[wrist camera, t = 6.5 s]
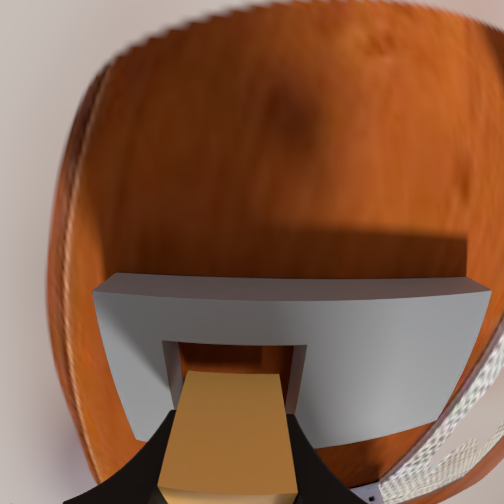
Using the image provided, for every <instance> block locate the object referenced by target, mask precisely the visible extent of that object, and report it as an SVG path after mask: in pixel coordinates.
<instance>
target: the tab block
mask: <svg viewBox="0 0 504 504" xmlns="http://www.w3.org/2000/svg"><path fill="white" fill-rule="evenodd" d="M157 486H158V488H159V490H160V491H161V493H162V495H163V496H164V498H165V500H166V501H167V503H168V504H293V502H294V500H295V498H296V496H297V494H298V490H297V483H296V477H295V470H294V464H293V457H292V451H291V445H290V438H289V432H288V426H287V419H286V413H285V407H284V401H283V395H282V388H281V382H280V376H279V374H235V373H213V372H198V371H187V375H186V378H185V382H184V385H183V389H182V392H181V396H180V400H179V403H178V407H177V411H176V414H175V418H174V422H173V426H172V429H171V433H170V437H169V441H168V445H167V448H166V452H165V456H164V460H163V464H162V468H161V472H160V476H159V481H158V485H157Z"/></svg>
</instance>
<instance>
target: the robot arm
mask: <svg viewBox="0 0 504 504" xmlns="http://www.w3.org/2000/svg"><path fill="white" fill-rule="evenodd" d="M176 411H177V410H173V409H172V410H170V411H169V413H168V414H167V416H166V417H165V419H164V420H163V422H162V423H161V425H160V426H159V428H158V429H157V430H156V432H155V433H154V434H153V435H152V437H151V438H150V439H149V440H148V442H147V443H146V444H145V445H144V446H143V448H142V449H141V450H140V451H139V452H138V453H137V454H136V455H135V456H134V457H133V458H132V459H131V460H130V461H129V462H128V463H127V464H126V465H125V466H124V467H122V468H121V469H120V470H119V471H118V472H116V473H115V474H114V475H112V476H111V477H110V478H108V479H107V480H106V481H104V482H103V483H101V484H99V485H98V486H96V487H94V488H92V489H91V490H89V491H87V492H85V493H83V494H81V495H79V496H77V497H74V498H72V499H69V500H67V501H64V502H63V504H168V503H167V501H166V500H165V498H164V496H163V495H162V493H161V491H160V490H159V488H158V486H157V485H158V481H159V476H160V472H161V468H162V464H163V460H164V456H165V452H166V448H167V445H168V441H169V437H170V433H171V429H172V426H173V422H174V418H175V414H176ZM286 419H287V426H288V432H289V438H290V445H291V451H292V457H293V464H294V470H295V477H296V483H297V490H298V494H297V496H296V498H295V500H294V502H293V504H384V501H383V498H382V496H381V493H380V490H379V488H378V487H379V486H380V485H381V484H380V482H377V483H373V484H369V485H365V486H361V487H357V488H353V489H348V488H347V487H346V486H345V485H344V484H343V483H342V482H341V481H340V480H339V479H338V478H337V477H336V476H335V475H334V474H333V473H332V472H331V471H330V469H329V468H328V467H327V466H326V465H325V463H324V462H323V461H322V460H321V458H320V457H319V456H318V454H317V453H316V451H315V450H314V448H313V447H312V446H311V444H310V443H309V441H308V439H307V438H306V436H305V434H304V433H303V431H302V429H301V427H300V425H299V423H298V421H297V419H296V417H295V415H294V414H286Z"/></svg>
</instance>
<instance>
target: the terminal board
mask: <svg viewBox="0 0 504 504" xmlns="http://www.w3.org/2000/svg"><path fill="white" fill-rule="evenodd" d="M92 293H93V299H94V304H95V310H96V315H97V319H98V324H99V328H100V333H101V337H102V341H103V345H104V349H105V352H106V356H107V360H108V363H109V366H110V370H111V373H112V376H113V379H114V383H115V386H116V389H117V392H118V394H119V397H120V400H121V403H122V406H123V408H124V411H125V413H126V416H127V419H128V421H129V424H130V426H131V428H132V431H133V433H134V435H135V438H136V440H141V441H146V442H148V440H149V439H150V438H151V437H152V435H153V434H154V433H155V432H156V430H157V429H158V428H159V426H160V425H161V423H162V422H163V420H164V419H165V417H166V416H167V414H168V413H169V411H170V410H172V409H173V410H177V407H178V403H179V400H180V396H181V392H182V389H183V385H184V384H183V377H182V370H181V362H180V355H179V346H178V342H188V343H203V344H223V345H294V349H293V357H292V364H291V371H290V378H289V385H288V392H287V398H286V404H285V413H286V414H294V415H295V417H296V419H297V421H298V423H299V425H300V427H301V429H302V431H303V433H304V434H305V436H306V438H307V439H308V441H309V443H310V444H311V446H312V447H313V448H314V449H315V448H323V447H331V446H337V445H344V444H349V443H355V442H360V441H365V440H369V439H374V438H378V437H382V436H386V435H390V434H394V433H398V432H401V431H405V430H408V429H411V428H414V427H417V426H421V425H424V424H426V423H429V422H432V421H435V420H437V418H438V417H439V415H440V413H441V412H442V410H443V408H444V406H445V405H446V403H447V401H448V399H449V398H450V396H451V394H452V392H453V390H454V388H455V386H456V384H457V382H458V380H459V378H460V376H461V374H462V372H463V370H464V368H465V365H466V363H467V361H468V359H469V356H470V354H471V351H472V349H473V347H474V344H475V341H476V339H477V336H478V334H479V331H480V328H481V325H482V322H483V319H484V316H485V313H486V310H487V307H488V303H489V300H490V296H491V293H492V290H490V289H488V288H486V287H485V286H483V285H481V284H479V283H477V282H476V281H474V280H472V279H470V278H468V277H445V278H407V279H272V278H230V277H199V276H174V275H153V274H134V273H115V274H113V275H112V276H111V277H110V278H108V279H107V280H106V281H104V282H103V283H102V284H100V285H99V286H98V287H97V288H95V289H94V290H93V291H92Z"/></svg>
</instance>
